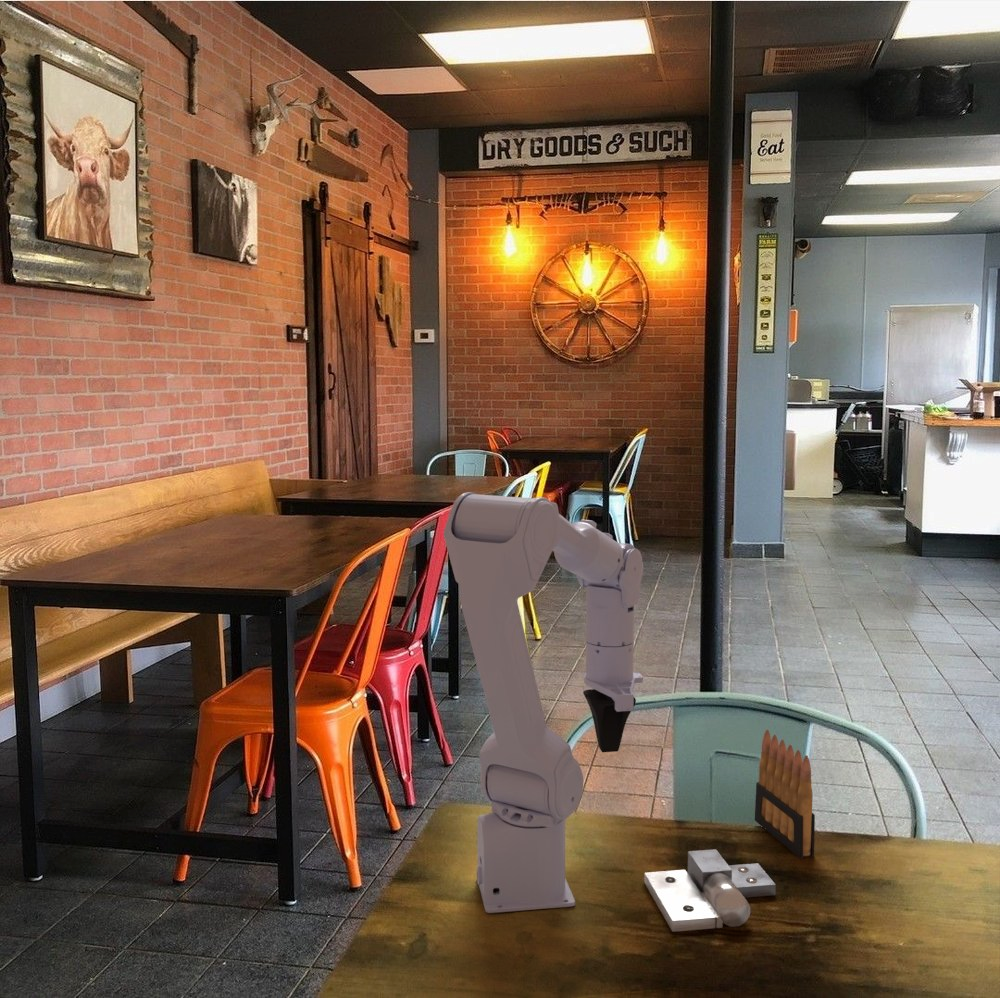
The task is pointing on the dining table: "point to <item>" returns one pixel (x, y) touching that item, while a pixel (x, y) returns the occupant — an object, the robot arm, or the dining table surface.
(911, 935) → the dining table surface
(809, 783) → the ammunition clip
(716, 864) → the loose leaf
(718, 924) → the fixed leaf
